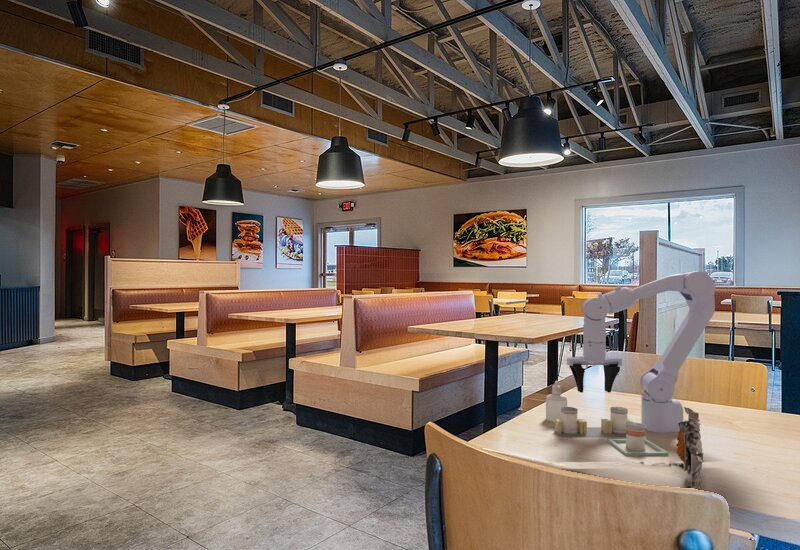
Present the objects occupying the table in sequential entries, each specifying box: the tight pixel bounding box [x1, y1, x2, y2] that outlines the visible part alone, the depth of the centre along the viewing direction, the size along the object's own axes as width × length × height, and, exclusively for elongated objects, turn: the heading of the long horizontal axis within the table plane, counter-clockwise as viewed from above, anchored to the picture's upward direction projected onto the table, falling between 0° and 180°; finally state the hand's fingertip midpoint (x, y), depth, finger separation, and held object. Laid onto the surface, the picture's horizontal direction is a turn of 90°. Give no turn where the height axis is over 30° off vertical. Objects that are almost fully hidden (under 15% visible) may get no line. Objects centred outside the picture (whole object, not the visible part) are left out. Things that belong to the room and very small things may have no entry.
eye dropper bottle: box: [545, 380, 568, 422], centre depth 139 cm, size 4×6×12 cm
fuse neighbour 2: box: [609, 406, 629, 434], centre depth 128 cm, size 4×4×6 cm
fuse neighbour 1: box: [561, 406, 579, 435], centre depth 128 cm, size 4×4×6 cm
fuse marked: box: [625, 421, 646, 452], centre depth 116 cm, size 4×4×6 cm
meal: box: [675, 406, 704, 489], centre depth 101 cm, size 15×4×13 cm, turn 153°
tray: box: [606, 438, 669, 457], centre depth 116 cm, size 10×10×2 cm
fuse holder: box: [550, 418, 634, 438], centre depth 128 cm, size 20×8×4 cm, turn 91°
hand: (594, 391), depth 135 cm, fingers open, 7 cm apart
